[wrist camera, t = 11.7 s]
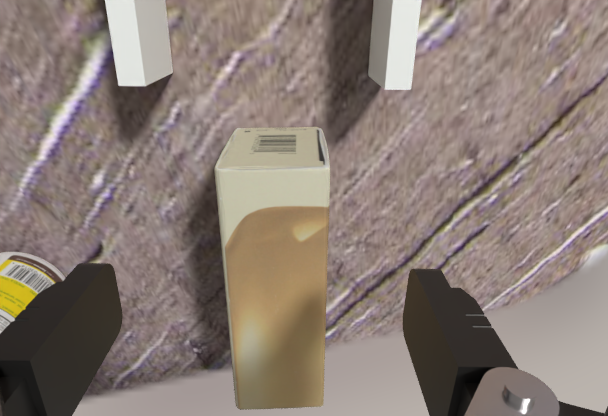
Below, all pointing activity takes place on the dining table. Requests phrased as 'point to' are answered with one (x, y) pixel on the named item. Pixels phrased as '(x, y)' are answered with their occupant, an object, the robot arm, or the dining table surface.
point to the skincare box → (275, 263)
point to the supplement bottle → (22, 282)
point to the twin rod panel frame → (157, 54)
